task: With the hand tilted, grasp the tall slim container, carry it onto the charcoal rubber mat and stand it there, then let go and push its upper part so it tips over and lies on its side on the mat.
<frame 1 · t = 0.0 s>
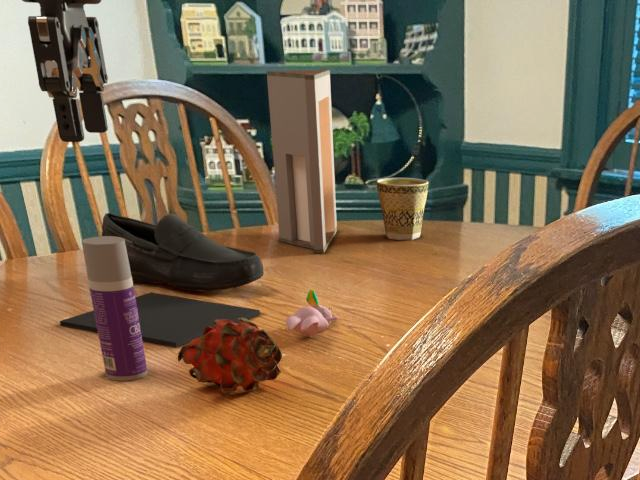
hand: (85, 136, 93), 25 cm above the table, tool pointing down, fingers open, 8 cm apart
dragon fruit: (234, 390, 103), on the table
container: (127, 376, 107), on the table
cabinet: (305, 242, 173), on the table
ceramic cup: (407, 236, 179), on the table
loafer: (181, 285, 143), on the table
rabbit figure: (311, 336, 121), on the table
mat: (162, 319, 126), on the table
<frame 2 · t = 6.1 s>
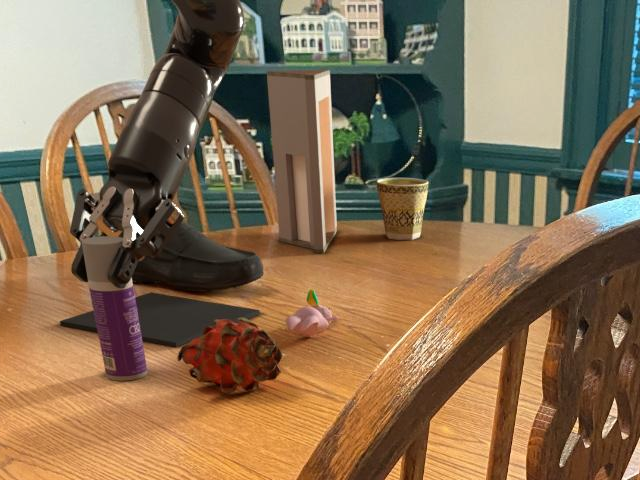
hand: (97, 280, 99), 11 cm above the table, tool tilted 45°, fingers closed on container, 4 cm apart
container: (127, 376, 107), on the table, touching gripper
everything else where it was.
when the fingers open (12 cm above the table, at t = 14.8 s): container stays where it is, resting on mat.
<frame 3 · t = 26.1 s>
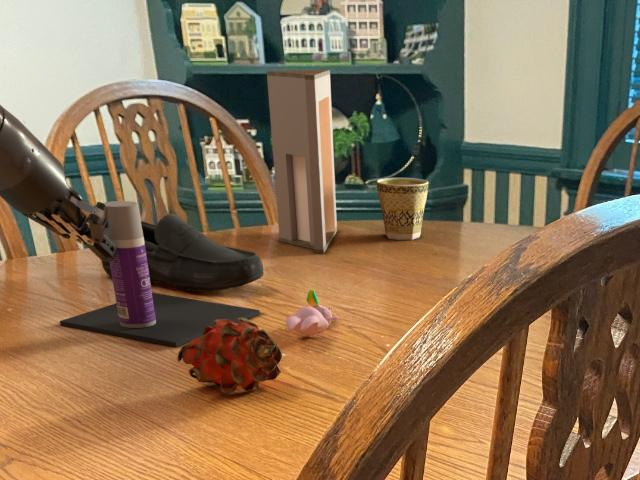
hand: (110, 254, 115), 10 cm above the table, tool tilted 45°, fingers closed
container: (138, 324, 122), resting on mat, touching gripper
everything else where it was.
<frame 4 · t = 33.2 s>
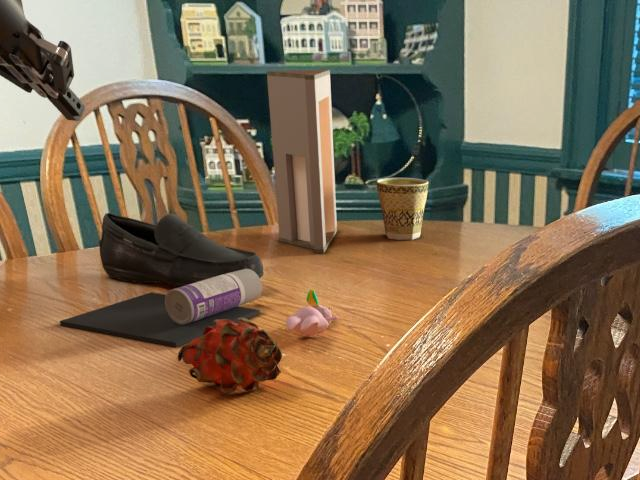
hand: (77, 114, 106), 26 cm above the table, tool tilted 45°, fingers closed
container: (177, 307, 121), point 3 cm above the table, touching mat
everything else where it was.
at the end: container tilted 90°; container inside the target area on the mat (6.0 cm from its centre), point 3.0 cm above the mat's base; the gripper is holding nothing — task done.
